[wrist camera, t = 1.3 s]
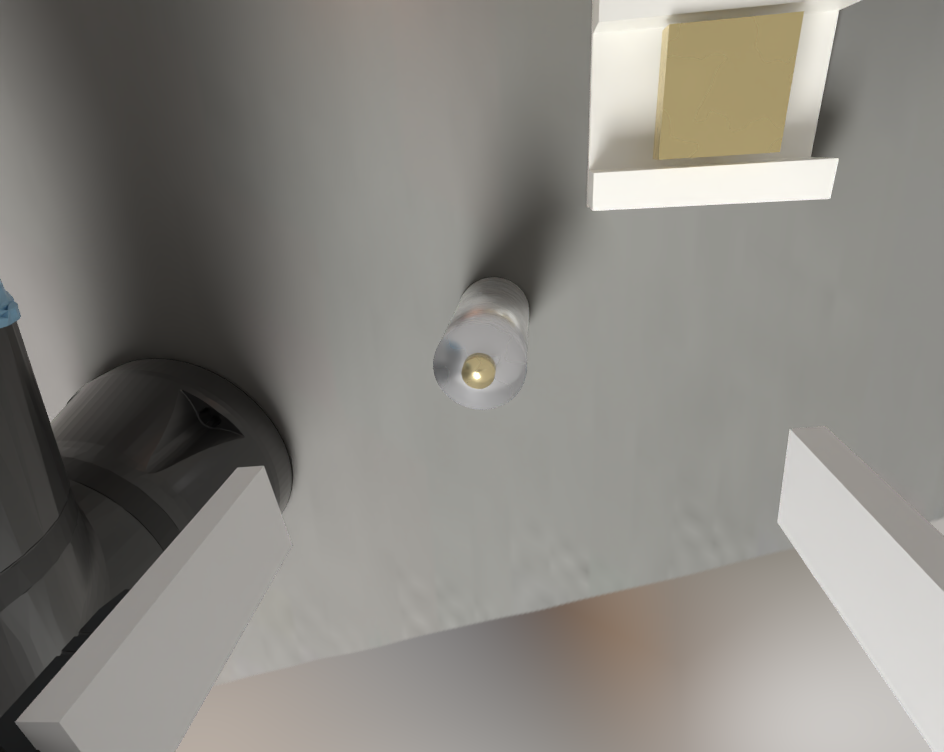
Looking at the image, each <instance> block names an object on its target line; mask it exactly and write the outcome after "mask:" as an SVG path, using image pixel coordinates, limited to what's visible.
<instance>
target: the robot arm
mask: <svg viewBox="0 0 944 752" xmlns="http://www.w3.org/2000/svg"><path fill="white" fill-rule="evenodd" d="M20 317H21V315H20V312H19V309H18V304H17V303H16V302H14V299H13V297H12V296H11V295H10V294H9V293H8V292H7V291H5V289H4V287H3V284H2V282H1V279H0V752H175V751H176V749H177V748H178V746H179V744H180V743H181V741H182V739H183V737H184V735H185V734H186V732H187V730H188V728H189V726H190V725H191V723H192V721H193V719H194V718H195V716H196V714H197V713H198V711H199V709H200V707H201V706H202V704H203V702H204V700H205V699H206V697H207V695H208V693H209V692H210V690H211V688H212V686H213V685H214V683H215V681H216V679H217V678H218V676H219V674H220V672H221V670H222V669H223V667H224V665H225V663H226V662H227V660H228V658H229V656H230V655H231V653H232V651H233V649H234V648H235V646H236V644H237V642H238V641H239V639H240V637H241V635H242V634H243V632H244V630H245V628H246V626H247V625H248V623H249V621H250V619H251V618H252V616H253V614H254V612H255V611H256V609H257V607H258V605H259V604H260V602H261V600H262V598H263V597H264V595H265V593H266V591H267V590H268V588H269V586H270V584H271V583H272V581H273V579H274V577H275V575H276V574H277V572H278V570H279V568H280V567H281V565H282V563H283V561H284V560H285V558H286V556H287V554H288V553H289V551H290V549H291V547H292V546H293V544H292V542H291V539H290V536H289V533H288V531H287V528H286V525H285V522H284V520H283V517H282V512H283V511H284V509H285V507H286V505H287V503H288V500H289V497H290V493H291V486H292V472H291V465H290V460H289V456H288V453H287V450H286V448H285V445H284V443H283V441H282V438H281V437H280V435H279V433H278V431H277V429H276V428H275V426H274V425H273V423H272V422H271V421H270V419H269V418H268V416H267V415H266V414H265V413H264V412H263V410H262V409H261V408H260V407H259V406H258V405H257V404H256V403H255V402H254V401H253V400H252V399H251V398H250V397H248V396H247V395H246V394H245V393H244V392H243V391H241V390H240V389H239V388H237V387H236V386H234V385H233V384H231V383H230V382H228V381H227V380H225V379H223V378H222V377H220V376H218V375H216V374H214V373H212V372H210V371H208V370H205V369H203V368H200V367H198V366H195V365H192V364H188V363H184V362H180V361H175V360H168V359H143V360H137V361H132V362H129V363H125V364H123V365H120V366H118V367H116V368H114V369H112V370H111V371H109V372H107V373H105V374H103V375H101V376H99V377H97V378H96V379H94V380H92V381H90V382H89V383H87V384H86V385H85V386H83V387H82V388H81V389H80V390H78V391H77V392H76V393H75V394H74V395H73V396H72V398H71V399H70V400H69V401H68V403H67V405H66V406H65V407H64V408H63V409H62V410H61V412H60V413H59V414H58V415H57V416H56V417H55V418H54V419H53V421H52V422H51V423H50V421H49V418H48V415H47V412H46V409H45V406H44V403H43V400H42V397H41V394H40V391H39V388H38V385H37V382H36V379H35V376H34V373H33V369H32V366H31V363H30V360H29V357H28V354H27V351H26V348H25V345H24V342H23V339H22V336H21V333H20V330H19V327H18V324H17V320H18V319H20ZM777 522H778V524H779V525H780V527H781V528H782V530H783V531H784V533H785V534H786V536H787V537H788V539H789V540H790V542H791V543H792V545H793V546H794V548H795V549H796V551H797V552H798V553H799V555H800V556H801V558H802V559H803V561H804V562H805V564H806V565H807V567H808V568H809V570H810V571H811V573H812V574H813V576H814V577H815V579H816V580H817V581H818V583H819V584H820V586H821V587H822V589H823V590H824V592H825V593H826V595H827V596H828V598H829V599H830V601H831V602H832V604H833V605H834V607H835V608H836V610H837V611H838V613H839V614H840V616H841V617H842V618H843V620H844V621H845V623H846V624H847V626H848V627H849V629H850V630H851V632H852V633H853V635H854V636H855V638H856V639H857V640H858V642H859V643H860V645H861V646H862V648H863V649H864V651H865V652H866V654H867V655H868V657H869V658H870V660H871V661H872V663H873V664H874V666H875V667H876V669H877V670H878V671H879V673H880V674H881V676H882V677H883V679H884V681H885V682H886V683H887V685H888V686H889V688H890V689H891V691H892V692H893V694H894V695H895V697H896V698H897V700H898V701H899V703H900V704H901V706H902V707H903V709H904V710H905V712H906V713H907V714H908V716H909V717H910V719H911V720H912V722H913V723H914V725H915V726H916V728H917V729H918V731H919V732H920V734H921V735H922V737H923V738H924V739H925V741H926V743H927V744H928V746H929V747H930V748H931V750H932V751H933V752H944V536H943V535H942V534H941V533H940V532H939V531H938V530H937V529H936V528H935V527H934V526H933V525H932V524H930V523H929V522H928V521H927V520H926V519H925V518H924V517H923V516H922V515H921V514H920V513H919V512H918V511H916V510H915V509H914V508H913V507H912V506H911V505H910V504H909V503H908V502H907V501H906V500H905V499H904V498H902V497H901V496H900V495H899V494H898V493H897V492H896V491H895V490H894V489H893V488H892V487H891V486H890V485H888V484H887V483H886V482H885V481H884V480H883V479H882V478H881V477H880V476H879V475H878V474H877V473H876V472H874V471H873V470H872V469H871V468H870V467H869V466H868V465H867V464H866V463H865V462H864V461H863V460H862V459H860V458H859V457H858V456H857V455H856V454H855V453H854V452H853V451H852V450H851V449H850V448H849V447H847V446H846V445H845V444H844V443H843V442H842V441H841V440H840V439H839V438H838V437H837V436H836V435H835V434H833V433H832V432H831V431H830V430H829V429H828V428H827V427H826V426H819V427H805V428H791V429H790V431H789V438H788V446H787V453H786V461H785V468H784V476H783V483H782V491H781V499H780V506H779V514H778V521H777Z"/></svg>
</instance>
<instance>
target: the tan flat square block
mask: <svg viewBox="0 0 944 752" xmlns="http://www.w3.org/2000/svg"><path fill="white" fill-rule="evenodd" d="M803 15H804V11H801V12H791V13H781V14H770V15H760V16H750V17H739V18H729V19H719V20H708V21H698V22H688V23H677V24H669V25H668V26H667V27H666V28H665V29H664V30H663V31H662V43H661V56H660V69H659V82H658V95H657V108H656V121H655V135H654V148H653V159H655V160H664V159H680V158H696V157H712V156H728V155H744V154H760V153H775V152H780V150H781V144H782V138H783V132H784V127H785V121H786V115H787V109H788V103H789V97H790V91H791V85H792V80H793V74H794V68H795V62H796V56H797V50H798V44H799V38H800V32H801V27H802V21H803Z"/></svg>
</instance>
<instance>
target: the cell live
mask: <svg viewBox="0 0 944 752" xmlns="http://www.w3.org/2000/svg"><path fill="white" fill-rule="evenodd" d="M528 330H529V304H528V301H527V298H526V296H525V294H524V293H523V291H522V290H521V289H520V288H519V287H518V286H517V285H516V284H514V283H513V282H511V281H509V280H507V279H503V278H499V277H489V278H484V279H481V280H478V281H477V282H475V283H473V284H472V285H471V286H470V287H469V288H468V289H467V290H466V291H465V293H464V294H463V296H462V298H461V300H460V302H459V304H458V306H457V308H456V310H455V312H454V314H453V316H452V318H451V320H450V322H449V324H448V326H447V328H446V330H445V333H444V335H443V337H442V339H441V341H440V343H439V345H438V347H437V349H436V352H435V355H434V361H433V369H434V374H435V378H436V380H437V382H438V385H439V386H440V388H441V389H442V391H443V392H444V393H445V394H446V395H447V396H448V397H449V398H450V399H452V400H453V401H454V402H456V403H458V404H460V405H462V406H465V407H468V408H472V409H480V410H484V409H492V408H496V407H499V406H502V405H504V404H506V403H507V402H509V401H510V400H511V399H513V398H514V397H515V396H516V395H517V394H518V392H519V391H520V390H521V388H522V386H523V384H524V381H525V378H526V373H527V352H528Z"/></svg>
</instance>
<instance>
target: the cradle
mask: <svg viewBox="0 0 944 752" xmlns="http://www.w3.org/2000/svg"><path fill="white" fill-rule="evenodd" d="M859 1H861V0H592V35H591V71H590V106H589V142H588V177H587V207H590V208H591V210H592V211H599V210H618V209H638V208H657V207H677V206H696V205H716V204H735V203H755V202H774V201H794V200H813V199H830V197H831V193H832V188H833V183H834V179H835V174H836V169H837V165H838V160H839V158H822V157H811V153H812V148H813V143H814V138H815V133H816V128H817V122H818V117H819V112H820V107H821V102H822V97H823V91H824V86H825V81H826V76H827V71H828V65H829V60H830V55H831V50H832V45H833V40H834V34H835V29H836V24H837V19H838V14H839V10H841V9H843V8H845V7H848V6H850V5H852V4H854V3H857V2H859ZM801 11H804V15H803V21H802V27H801V32H800V38H799V44H798V50H797V56H796V62H795V68H794V74H793V80H792V85H791V91H790V97H789V103H788V109H787V115H786V121H785V127H784V132H783V138H782V144H781V150H780V152H775V153H760V154H744V155H728V156H712V157H696V158H680V159H664V160H655V159H653V148H654V135H655V121H656V108H657V95H658V82H659V69H660V56H661V43H662V31H663V30H664V29H665V28H666V27H667V26H668V25H669V24H677V23H688V22H698V21H708V20H719V19H729V18H739V17H750V16H760V15H770V14H781V13H791V12H801Z"/></svg>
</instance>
